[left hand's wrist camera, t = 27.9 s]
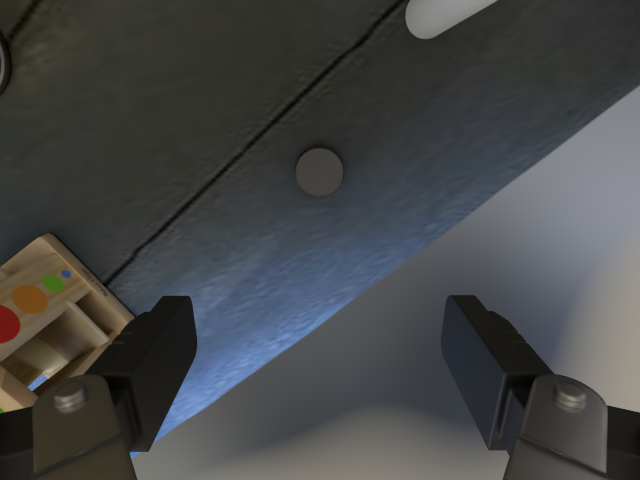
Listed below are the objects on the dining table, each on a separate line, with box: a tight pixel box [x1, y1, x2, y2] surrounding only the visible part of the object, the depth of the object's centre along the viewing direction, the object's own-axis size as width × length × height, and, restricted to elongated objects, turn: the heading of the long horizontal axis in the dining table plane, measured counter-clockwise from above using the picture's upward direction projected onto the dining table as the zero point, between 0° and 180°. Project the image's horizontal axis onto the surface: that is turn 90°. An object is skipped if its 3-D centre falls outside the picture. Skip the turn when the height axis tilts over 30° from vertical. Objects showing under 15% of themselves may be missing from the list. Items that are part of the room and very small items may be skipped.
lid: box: [295, 145, 344, 197], centre depth 37 cm, size 5×5×2 cm
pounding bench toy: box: [0, 233, 135, 413], centre depth 37 cm, size 23×14×18 cm, turn 34°
